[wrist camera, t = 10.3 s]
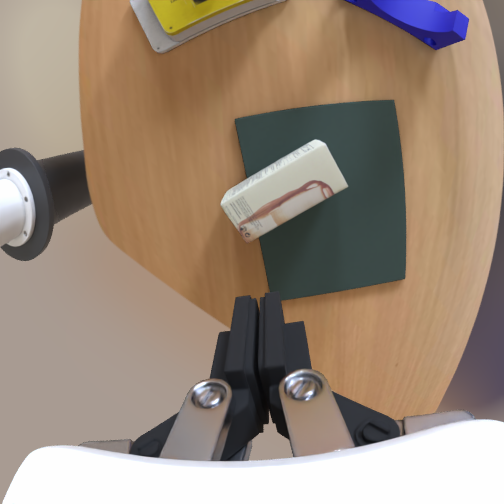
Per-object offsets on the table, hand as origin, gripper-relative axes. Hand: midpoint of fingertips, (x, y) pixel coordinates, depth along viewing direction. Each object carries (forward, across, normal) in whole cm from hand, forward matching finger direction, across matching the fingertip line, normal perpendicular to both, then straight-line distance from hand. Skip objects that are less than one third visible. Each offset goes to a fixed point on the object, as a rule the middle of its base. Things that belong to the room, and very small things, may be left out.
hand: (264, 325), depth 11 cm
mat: (+20, -7, +1) cm, 21 cm away
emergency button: (+20, +1, -24) cm, 31 cm away
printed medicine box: (+17, +3, 0) cm, 17 cm away
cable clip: (+20, -18, -20) cm, 33 cm away
